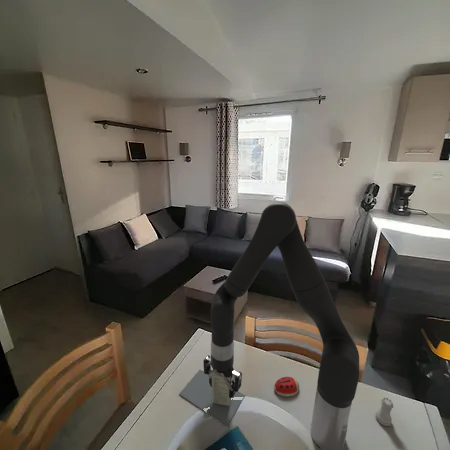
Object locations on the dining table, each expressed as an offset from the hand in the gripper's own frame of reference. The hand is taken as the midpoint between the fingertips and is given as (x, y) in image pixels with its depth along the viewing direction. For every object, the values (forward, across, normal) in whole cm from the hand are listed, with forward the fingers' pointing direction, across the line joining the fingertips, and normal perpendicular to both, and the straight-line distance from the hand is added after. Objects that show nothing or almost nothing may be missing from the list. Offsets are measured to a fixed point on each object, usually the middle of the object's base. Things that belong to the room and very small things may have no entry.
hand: (221, 390), depth 80 cm
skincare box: (+4, 0, 0) cm, 4 cm away
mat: (+5, +4, 0) cm, 6 cm away
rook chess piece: (+5, -48, -23) cm, 53 cm away
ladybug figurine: (+6, -18, -17) cm, 25 cm away
